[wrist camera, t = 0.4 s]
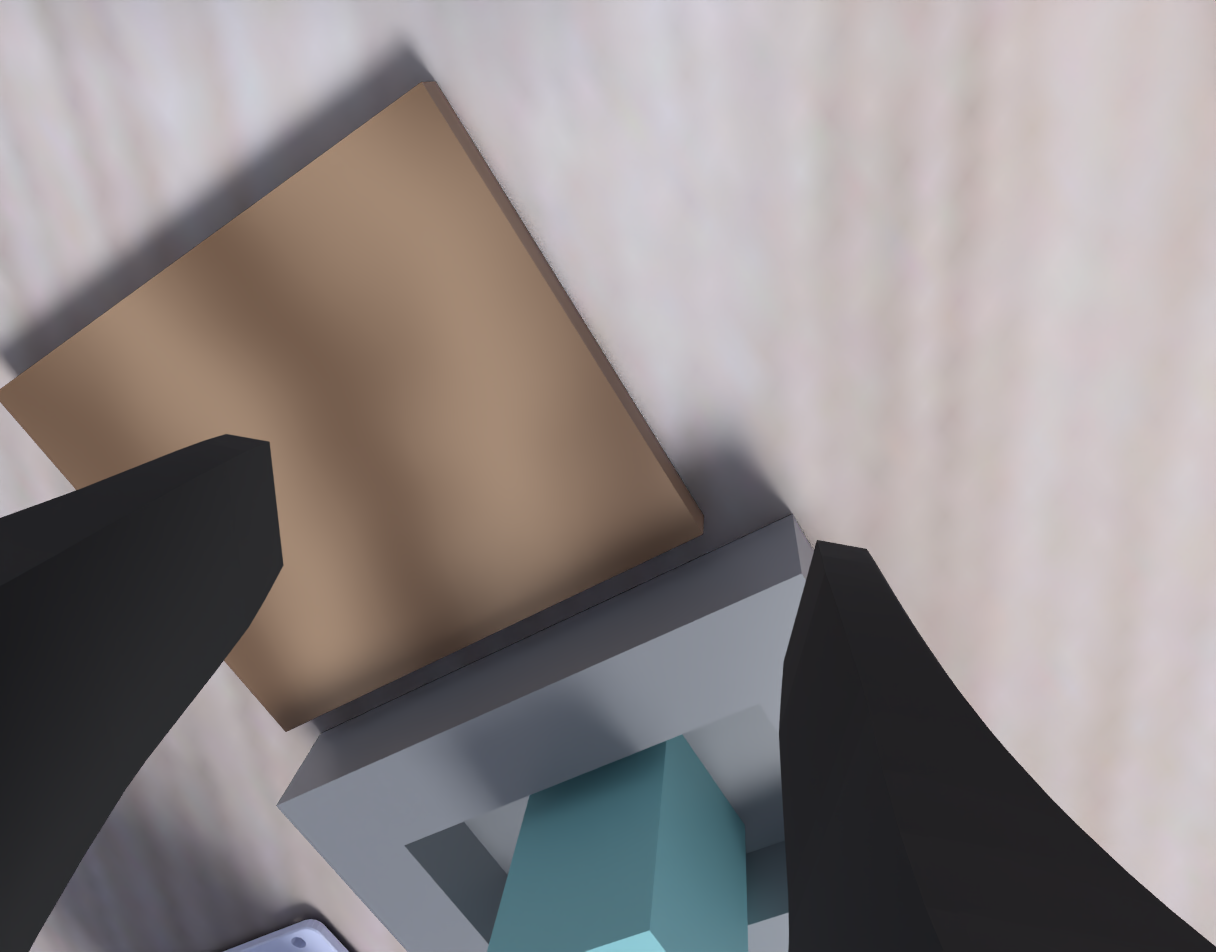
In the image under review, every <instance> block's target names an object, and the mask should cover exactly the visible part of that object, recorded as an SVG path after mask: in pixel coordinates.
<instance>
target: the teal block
mask: <svg viewBox="0 0 1216 952" xmlns="http://www.w3.org/2000/svg"><path fill="white" fill-rule="evenodd" d="M487 952H748V922H747V883H746V845H745V825H744V823H743V822H742V820H741V819H740V818H739V816H738V815H737V813H736V812H735V810H734V809H733V807H732V806H731V804H730V803H729V802H728V800H727V799H726V797H725V796H724V794H723V793H722V791H721V790H720V788H719V787H718V786H717V784H716V783H715V781H714V780H713V778H712V777H711V775H710V774H709V772H708V771H707V770H706V768H705V767H704V765H703V764H702V762H701V761H700V759H699V758H698V756H697V755H696V754H695V752H694V751H693V749H692V748H691V746H690V745H689V743H688V742H687V740H686V739H685V738H684V736H683V735H679V736H677V737H674V738H672V739H669V740H667V741H664V742H662V743H659V744H657V745H654V746H652V747H649V748H647V749H644V750H642V751H639V752H637V753H634V754H632V755H629V756H627V757H624V758H622V759H619V760H617V761H614V762H612V763H609V764H607V765H604V766H602V767H599V768H597V769H594V770H592V771H589V772H587V773H584V774H582V775H579V776H577V777H574V778H572V779H569V780H567V781H564V782H562V783H559V784H557V785H554V786H552V787H549V788H547V789H544V790H542V791H539V792H537V793H534V794H532V795H529V799H528V803H527V806H526V810H525V814H524V817H523V821H522V825H521V828H520V832H519V836H518V839H517V843H516V847H515V850H514V854H513V858H512V861H511V865H510V869H509V872H508V876H507V880H506V883H505V887H504V891H503V895H502V898H501V902H500V906H499V909H498V913H497V917H496V920H495V924H494V928H493V931H492V935H491V939H490V942H489V946H488V950H487Z"/></svg>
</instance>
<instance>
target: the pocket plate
mask: <svg viewBox="0 0 1216 952" xmlns="http://www.w3.org/2000/svg"><path fill="white" fill-rule="evenodd" d="M813 553H814V550H813V548H812V547H811V545H810V543H809V541H808V540H807V538H806V536H805V535H804V533H803V531H802V529H801V528H800V526H799V524H798V523H797V521H796V519H795V517H794V516H793V514H792V515H789V516H787V517H785V518H783V519H781V520H779V521H776V522H774V523H772V524H770V525H768V526H766V527H764V528H761V529H759V530H757V531H755V532H753V533H751V534H749V535H746V536H744V537H742V538H740V539H738V540H736V541H734V542H731V543H729V544H727V545H725V546H723V547H721V548H719V549H716V550H714V551H712V552H710V553H708V554H706V555H703V556H701V557H699V558H697V559H695V560H693V561H691V562H688V563H686V564H684V565H682V566H680V567H678V568H676V569H673V570H671V571H669V572H667V573H665V574H663V575H661V576H658V577H656V578H654V579H652V580H650V581H648V582H646V583H643V584H641V585H639V586H637V587H635V588H633V589H630V590H628V591H626V592H624V593H622V594H620V595H618V596H615V597H613V598H611V599H609V600H607V601H605V602H603V603H600V604H598V605H596V606H594V607H592V608H590V609H588V610H585V611H583V612H581V613H579V614H577V615H575V616H573V617H570V618H568V619H566V620H564V621H562V622H560V623H557V624H555V625H553V626H551V627H549V628H547V629H545V630H542V631H540V632H538V633H536V634H534V635H532V636H530V637H527V638H525V639H523V640H521V641H519V642H517V643H515V644H512V645H510V646H508V647H506V648H504V649H502V650H500V651H497V652H495V653H493V654H491V655H489V656H487V657H484V658H482V659H480V660H478V661H476V662H474V663H472V664H469V665H467V666H465V667H463V668H461V669H459V670H457V671H454V672H452V673H450V674H448V675H446V676H444V677H442V678H439V679H437V680H435V681H433V682H431V683H429V684H427V685H424V686H422V687H420V688H418V689H416V690H414V691H411V692H409V693H407V694H405V695H403V696H401V697H399V698H396V699H394V700H392V701H390V702H388V703H386V704H384V705H381V706H379V707H377V708H375V709H373V710H371V711H369V712H366V713H364V714H362V715H360V716H358V717H356V718H354V719H351V720H349V721H347V722H345V723H343V724H341V725H338V726H336V727H334V728H332V729H330V730H328V731H326V732H323V733H321V734H320V735H319V737H318V739H317V740H316V742H315V744H314V745H313V747H312V748H311V750H310V752H309V753H308V755H307V757H306V758H305V760H304V761H303V763H302V765H301V766H300V768H299V770H298V771H297V773H296V774H295V776H294V778H293V779H292V781H291V783H290V784H289V786H288V787H287V789H286V791H285V792H284V794H283V796H282V797H281V799H280V800H279V802H278V804H277V805H276V806H277V807H278V808H279V809H280V810H281V812H282V813H283V814H284V815H285V816H286V817H287V818H288V819H289V820H290V822H291V823H292V824H293V825H294V826H295V827H296V828H297V829H298V830H299V832H300V833H301V834H302V835H303V836H304V837H305V838H306V839H307V840H308V842H309V843H310V844H311V845H312V846H313V847H314V848H315V849H316V850H317V852H318V853H319V854H320V855H321V856H322V857H323V858H324V859H325V860H326V862H327V863H328V864H329V865H330V866H331V867H332V868H333V869H334V870H335V872H336V873H337V874H338V875H339V876H340V877H341V878H342V879H343V880H344V882H345V883H346V884H347V885H348V886H349V887H350V888H351V889H352V890H353V892H354V893H355V894H356V895H357V896H358V897H359V898H360V899H361V900H362V902H363V903H364V904H365V905H366V906H367V907H368V908H369V909H370V911H371V912H372V913H373V914H374V915H375V916H376V917H377V918H378V919H379V921H380V922H381V923H382V924H383V925H384V926H385V927H386V928H387V929H388V931H389V932H390V933H391V934H392V935H393V936H394V937H395V938H396V939H397V941H398V942H399V943H400V944H401V945H402V946H403V947H404V948H405V949H406V951H407V952H487V950H488V946H489V942H490V939H491V935H492V931H493V928H494V924H495V920H496V917H497V913H498V909H499V906H500V902H501V898H502V895H503V891H504V887H505V883H506V880H507V876H508V872H509V869H510V865H511V861H512V858H513V854H514V850H515V847H516V843H517V839H518V836H519V832H520V828H521V825H522V821H523V817H524V814H525V810H526V806H527V803H528V799H529V795H532V794H534V793H537V792H539V791H542V790H544V789H547V788H549V787H552V786H554V785H557V784H559V783H562V782H564V781H567V780H569V779H572V778H574V777H577V776H579V775H582V774H584V773H587V772H589V771H592V770H594V769H597V768H599V767H602V766H604V765H607V764H609V763H612V762H614V761H617V760H619V759H622V758H624V757H627V756H629V755H632V754H634V753H637V752H639V751H642V750H644V749H647V748H649V747H652V746H654V745H657V744H659V743H662V742H664V741H667V740H669V739H672V738H674V737H677V736H679V735H683V736H684V738H685V739H686V740H687V742H688V743H689V745H690V746H691V748H692V749H693V751H694V752H695V754H696V755H697V756H698V758H699V759H700V761H701V762H702V764H703V765H704V767H705V768H706V770H707V771H708V772H709V774H710V775H711V777H712V778H713V780H714V781H715V783H716V784H717V786H718V787H719V788H720V790H721V791H722V793H723V794H724V796H725V797H726V799H727V800H728V802H729V803H730V804H731V806H732V807H733V809H734V810H735V812H736V813H737V815H738V816H739V818H740V819H741V820H742V822H743V823H744V825H745V845H746V883H747V922H748V952H788V947H789V911H788V885H787V868H786V852H785V835H784V818H783V802H782V785H781V767H780V748H779V720H780V703H781V689H782V675H783V662H784V658H785V655H786V651H787V647H788V644H789V640H790V636H791V633H792V629H793V626H794V622H795V618H796V615H797V611H798V607H799V604H800V600H801V596H802V593H803V589H804V586H805V582H806V578H807V575H808V571H809V567H810V564H811V560H812V556H813Z"/></svg>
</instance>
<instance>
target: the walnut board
mask: <svg viewBox="0 0 1216 952" xmlns="http://www.w3.org/2000/svg"><path fill="white" fill-rule="evenodd" d="M0 402H1V403H2V405H3V406H4V407H5V408H6V409H7V410H8V412H9V413H10V414H11V415H12V416H13V417H14V418H15V420H16V421H17V422H18V423H19V424H20V425H21V427H22V428H23V429H24V430H25V431H26V432H27V433H28V435H29V436H30V437H31V438H32V439H33V440H34V442H35V443H36V444H37V445H38V446H39V447H40V449H41V450H42V451H43V452H44V453H45V454H46V455H47V457H48V458H49V459H50V460H51V461H52V462H53V464H54V465H55V466H56V467H57V468H58V469H59V470H60V472H61V473H62V474H63V475H64V476H65V477H66V479H67V480H68V481H69V482H70V483H71V484H72V485H73V487H74V488H75V489H76V490H79V489H81V488H84V487H86V486H89V485H91V484H94V483H96V482H99V481H101V480H104V479H106V478H109V477H111V476H114V475H116V474H119V473H121V472H124V471H126V470H129V469H131V468H134V467H137V466H139V465H142V464H144V463H147V462H149V461H152V460H154V459H157V458H159V457H162V456H164V455H167V454H169V453H172V452H174V451H177V450H180V449H182V448H185V447H188V446H190V445H193V444H196V443H199V442H202V441H204V440H207V439H211V438H214V437H217V436H221V435H224V434H230V435H236V436H241V437H247V438H252V439H258V440H263V441H269V442H270V449H271V458H272V467H273V476H274V485H275V494H276V503H277V511H278V520H279V529H280V538H281V547H282V556H283V565H284V566H283V567H282V569H281V571H280V573H279V575H278V577H277V579H276V580H275V582H274V584H273V586H272V588H271V590H270V592H269V593H268V595H267V597H266V599H265V601H264V602H263V604H262V606H261V608H260V609H259V611H258V613H257V614H256V616H255V618H254V619H253V621H252V623H251V624H250V626H249V628H248V629H247V630H246V632H245V633H244V634H243V636H242V637H241V638H240V640H239V641H238V642H237V644H236V645H235V646H234V648H233V649H232V650H231V652H230V653H229V654H228V656H227V657H226V658H225V659H224V661H225V662H226V663H227V665H228V666H229V667H230V668H231V669H232V670H233V672H234V673H235V674H236V675H237V676H238V677H239V678H240V680H241V681H242V682H243V683H244V684H245V685H246V687H247V688H248V689H249V690H250V691H251V692H252V694H253V695H254V696H255V697H256V698H257V699H258V700H259V702H260V703H261V704H262V705H263V706H264V707H265V709H266V710H267V711H268V712H269V713H270V714H271V715H272V717H273V718H274V719H275V720H276V721H277V722H278V724H279V725H280V726H281V727H282V728H283V729H284V730H285V732H287V731H289V730H291V729H293V728H295V727H297V726H300V725H302V724H304V723H306V722H308V721H310V720H312V719H314V718H316V717H319V716H321V715H323V714H325V713H327V712H329V711H331V710H333V709H335V708H338V707H340V706H342V705H344V704H346V703H348V702H350V701H352V700H354V699H357V698H359V697H361V696H363V695H365V694H367V693H369V692H371V691H373V690H375V689H378V688H380V687H382V686H384V685H386V684H388V683H390V682H392V681H394V680H397V679H399V678H401V677H403V676H405V675H407V674H409V673H411V672H413V671H416V670H418V669H420V668H422V667H424V666H426V665H428V664H430V663H432V662H435V661H437V660H439V659H441V658H443V657H445V656H447V655H449V654H451V653H454V652H456V651H458V650H460V649H462V648H464V647H466V646H468V645H470V644H473V643H475V642H477V641H479V640H481V639H483V638H485V637H487V636H489V635H492V634H494V633H496V632H498V631H500V630H502V629H504V628H506V627H508V626H510V625H513V624H515V623H517V622H519V621H521V620H523V619H525V618H527V617H529V616H532V615H534V614H536V613H538V612H540V611H542V610H544V609H546V608H548V607H551V606H553V605H555V604H557V603H559V602H561V601H563V600H565V599H567V598H570V597H572V596H574V595H576V594H578V593H580V592H582V591H584V590H586V589H589V588H591V587H593V586H595V585H597V584H599V583H601V582H603V581H605V580H608V579H610V578H612V577H614V576H616V575H618V574H620V573H622V572H624V571H626V570H629V569H631V568H633V567H635V566H637V565H639V564H641V563H643V562H645V561H648V560H650V559H652V558H654V557H656V556H658V555H660V554H662V553H664V552H667V551H669V550H671V549H673V548H675V547H677V546H679V545H681V544H683V543H686V542H688V541H690V540H692V539H694V538H696V537H698V536H700V535H702V534H703V526H704V515H703V514H702V512H701V511H700V509H699V507H698V506H697V504H696V502H695V501H694V499H693V498H692V496H691V494H690V493H689V491H688V489H687V488H686V486H685V485H684V483H683V481H682V480H681V478H680V477H679V475H678V473H677V472H676V470H675V468H674V467H673V465H672V464H671V462H670V460H669V459H668V457H667V455H666V454H665V452H664V451H663V449H662V447H661V446H660V444H659V442H658V441H657V439H656V438H655V436H654V434H653V433H652V431H651V430H650V428H649V426H648V425H647V423H646V421H645V420H644V418H643V417H642V415H641V413H640V412H639V410H638V408H637V407H636V405H635V404H634V402H633V400H632V399H631V397H630V396H629V394H628V392H627V391H626V389H625V387H624V386H623V384H622V383H621V381H620V379H619V378H618V376H617V374H616V373H615V371H614V370H613V368H612V366H611V365H610V363H609V362H608V360H607V358H606V357H605V355H604V353H603V352H602V350H601V349H600V347H599V345H598V344H597V342H596V340H595V339H594V337H593V336H592V334H591V332H590V331H589V329H588V328H587V326H586V324H585V323H584V321H583V319H582V318H581V316H580V315H579V313H578V311H577V310H576V308H575V306H574V305H573V303H572V302H571V300H570V298H569V297H568V295H567V294H566V292H565V290H564V289H563V287H562V285H561V284H560V282H559V281H558V279H557V277H556V276H555V274H554V272H553V271H552V269H551V268H550V266H549V264H548V263H547V261H546V259H545V258H544V256H543V255H542V253H541V251H540V250H539V248H538V247H537V245H536V243H535V242H534V240H533V238H532V237H531V235H530V234H529V232H528V230H527V229H526V227H525V225H524V224H523V222H522V221H521V219H520V217H519V216H518V214H517V213H516V211H515V209H514V208H513V206H512V204H511V203H510V201H509V200H508V198H507V196H506V195H505V193H504V191H503V190H502V188H501V187H500V185H499V183H498V182H497V180H496V179H495V177H494V175H493V174H492V172H491V170H490V169H489V167H488V166H487V164H486V162H485V161H484V159H483V157H482V156H481V154H480V153H479V151H478V149H477V148H476V146H475V145H474V143H473V141H472V140H471V138H470V136H469V135H468V133H467V132H466V130H465V128H464V127H463V125H462V123H461V122H460V120H459V119H458V117H457V115H456V114H455V112H454V111H453V109H452V107H451V106H450V104H449V102H448V101H447V99H446V98H445V96H444V94H443V93H442V91H441V89H440V88H439V86H438V85H437V83H436V82H421V83H419V84H418V85H417V86H415V87H414V88H412V89H411V90H410V91H408V92H407V93H406V94H404V95H403V96H401V97H400V98H399V99H397V100H396V101H395V102H393V103H392V104H390V105H389V106H388V107H386V108H385V109H384V110H382V111H381V112H380V113H378V114H377V115H375V116H374V117H373V118H371V119H370V120H369V121H367V122H366V123H364V124H363V125H362V126H360V127H359V128H358V129H356V130H355V131H353V132H352V133H351V134H349V135H348V136H347V137H345V138H344V139H342V140H341V141H340V142H338V143H337V144H336V145H334V146H333V147H332V148H330V149H329V150H327V151H326V152H325V153H323V154H322V155H321V156H319V157H318V158H316V159H315V160H314V161H312V162H311V163H310V164H308V165H307V166H305V167H304V168H303V169H301V170H300V171H299V172H297V173H296V174H294V175H293V176H292V177H290V178H289V179H288V180H286V181H285V182H284V183H282V184H281V185H279V186H278V187H277V188H275V189H274V190H273V191H271V192H270V193H268V194H267V195H266V196H264V197H263V198H262V199H260V200H259V201H257V202H256V203H255V204H253V205H252V206H251V207H249V208H248V209H246V210H245V211H244V212H242V213H241V214H240V215H238V216H237V217H236V218H234V219H233V220H231V221H230V222H229V223H227V224H226V225H225V226H223V227H222V228H220V229H219V230H218V231H216V232H215V233H214V234H212V235H211V236H209V237H208V238H207V239H205V240H204V241H203V242H201V243H200V244H198V245H197V246H196V247H194V248H193V249H192V250H190V251H189V252H188V253H186V254H185V255H183V256H182V257H181V258H179V259H178V260H177V261H175V262H174V263H172V264H171V265H170V266H168V267H167V268H166V269H164V270H163V271H161V272H160V273H159V274H157V275H156V276H155V277H153V278H152V279H150V280H149V281H148V282H146V283H145V284H144V285H142V286H141V287H140V288H138V289H137V290H135V291H134V292H133V293H131V294H130V295H129V296H127V297H126V298H124V299H123V300H122V301H120V302H119V303H118V304H116V305H115V306H113V307H112V308H111V309H109V310H108V311H107V312H105V313H104V314H102V315H101V316H100V317H98V318H97V319H96V320H94V321H93V322H92V323H90V324H89V325H87V326H86V327H85V328H83V329H82V330H81V331H79V332H78V333H76V334H75V335H74V336H72V337H71V338H70V339H68V340H67V341H65V342H64V343H63V344H61V345H60V346H59V347H57V348H56V349H54V350H53V351H52V352H50V353H49V354H48V355H46V356H45V357H44V358H42V359H41V360H39V361H38V362H37V363H35V364H34V365H33V366H31V367H30V368H28V369H27V370H26V371H24V372H23V373H22V374H20V375H19V376H17V377H16V378H15V379H13V380H12V381H11V382H9V383H8V384H6V385H5V386H4V387H2V388H1V389H0Z"/></svg>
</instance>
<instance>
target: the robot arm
mask: <svg viewBox="0 0 1216 952" xmlns="http://www.w3.org/2000/svg"><path fill="white" fill-rule="evenodd" d="M283 566H284V565H283V556H282V547H281V538H280V529H279V520H278V511H277V503H276V494H275V485H274V476H273V467H272V458H271V449H270V442H269V441H263V440H258V439H252V438H247V437H241V436H236V435H230V434H224V435H221V436H217V437H214V438H211V439H207V440H204V441H202V442H199V443H196V444H193V445H190V446H188V447H185V448H182V449H180V450H177V451H174V452H172V453H169V454H167V455H164V456H162V457H159V458H157V459H154V460H152V461H149V462H147V463H144V464H142V465H139V466H137V467H134V468H131V469H129V470H126V471H124V472H121V473H119V474H116V475H114V476H111V477H109V478H106V479H104V480H101V481H99V482H96V483H94V484H91V485H89V486H86V487H84V488H81V489H79V490H76V491H73V492H71V493H68V494H66V495H63V496H60V497H57V498H54V499H52V500H49V501H46V502H43V503H41V504H38V505H35V506H32V507H29V508H27V509H24V510H21V511H18V512H16V513H13V514H10V515H7V516H5V517H2V518H0V952H29V950H30V949H31V947H32V945H33V943H34V941H35V939H36V937H37V936H38V934H39V932H40V930H41V929H42V927H43V925H44V923H45V922H46V920H47V918H48V917H49V915H50V913H51V911H52V910H53V908H54V906H55V905H56V903H57V901H58V899H59V898H60V896H61V894H62V893H63V891H64V889H65V887H66V886H67V884H68V882H69V881H70V879H71V877H72V875H73V874H74V872H75V870H76V869H77V867H78V865H79V863H80V862H81V860H82V858H83V857H84V855H85V853H86V852H87V850H88V849H89V847H90V845H91V844H92V842H93V841H94V839H95V837H96V836H97V834H98V833H99V831H100V829H101V828H102V826H103V825H104V823H105V821H106V820H107V818H108V817H109V815H110V813H111V812H112V810H113V809H114V807H115V805H116V804H117V802H118V800H119V799H120V797H121V796H122V794H123V792H124V791H125V789H126V788H127V787H128V785H129V784H130V782H131V781H132V780H133V778H134V777H135V775H136V774H137V773H138V771H139V770H140V768H141V767H142V766H143V764H144V763H145V761H146V760H147V759H148V757H149V756H150V755H151V753H152V752H153V751H154V750H155V748H156V747H157V746H158V744H159V743H160V742H161V741H162V739H163V738H164V737H165V735H166V734H167V733H168V732H169V730H170V729H171V728H172V726H173V725H174V724H175V723H176V721H177V720H178V719H179V717H180V716H181V715H182V714H183V712H184V711H185V710H186V708H187V707H188V706H189V705H190V703H191V702H192V701H193V700H194V698H195V697H196V696H197V694H198V693H199V692H200V691H201V689H202V688H203V687H204V685H205V684H206V683H207V682H208V680H209V679H210V678H211V676H212V675H213V674H214V673H215V671H216V670H217V669H218V667H219V666H220V665H221V663H222V662H223V661H224V659H225V658H226V657H227V656H228V654H229V653H230V652H231V650H232V649H233V648H234V646H235V645H236V644H237V642H238V641H239V640H240V638H241V637H242V636H243V634H244V633H245V632H246V630H247V629H248V628H249V626H250V624H251V623H252V621H253V619H254V618H255V616H256V614H257V613H258V611H259V609H260V608H261V606H262V604H263V602H264V601H265V599H266V597H267V595H268V593H269V592H270V590H271V588H272V586H273V584H274V582H275V580H276V579H277V577H278V575H279V573H280V571H281V569H282V567H283ZM779 748H780V767H781V785H782V802H783V818H784V835H785V852H786V868H787V885H788V911H789V947H788V952H1216V947H1215V946H1214V945H1213V944H1212V943H1210V942H1209V941H1208V940H1207V939H1206V938H1204V937H1203V936H1202V935H1201V934H1200V933H1198V932H1197V931H1196V930H1195V929H1193V928H1192V927H1191V926H1190V925H1189V924H1187V923H1186V922H1185V921H1184V920H1182V919H1181V918H1180V917H1179V916H1178V915H1176V914H1175V913H1174V912H1173V911H1171V910H1170V909H1169V908H1168V907H1167V906H1166V905H1165V904H1163V903H1162V902H1161V901H1160V900H1159V899H1158V898H1156V897H1155V896H1154V895H1153V894H1152V893H1151V892H1150V891H1148V890H1147V889H1146V888H1145V887H1144V886H1143V885H1142V884H1140V883H1139V882H1138V881H1137V880H1136V879H1135V878H1134V877H1132V876H1131V875H1130V874H1129V873H1128V872H1127V871H1126V870H1125V869H1124V868H1123V867H1122V866H1120V865H1119V864H1118V863H1117V862H1116V861H1115V860H1114V859H1113V858H1112V857H1111V856H1110V855H1109V854H1108V853H1107V852H1106V851H1105V850H1103V849H1102V848H1101V847H1100V846H1099V845H1098V844H1097V843H1096V842H1095V841H1094V840H1093V839H1092V838H1091V837H1090V836H1089V835H1088V834H1086V833H1085V832H1084V831H1083V830H1082V829H1081V828H1080V827H1079V826H1078V825H1077V824H1076V823H1075V822H1074V821H1073V820H1072V819H1071V818H1070V817H1069V816H1068V815H1067V814H1066V813H1065V812H1064V811H1063V810H1062V809H1061V808H1060V807H1059V806H1058V805H1057V804H1056V803H1055V802H1054V801H1053V800H1052V799H1051V798H1050V797H1049V796H1048V795H1047V794H1046V792H1045V791H1044V790H1043V789H1042V788H1041V787H1040V786H1039V785H1038V784H1037V783H1036V782H1035V780H1034V779H1033V778H1032V777H1031V776H1030V775H1029V774H1028V773H1027V772H1026V771H1025V769H1024V768H1023V767H1022V766H1021V765H1020V764H1019V763H1018V762H1017V761H1016V760H1015V759H1014V757H1013V756H1012V755H1011V754H1010V753H1009V752H1008V751H1007V750H1006V749H1005V747H1004V746H1003V745H1002V744H1001V743H1000V741H999V740H998V739H997V738H996V737H995V736H994V734H993V733H992V732H991V731H990V730H989V728H988V727H987V726H986V725H985V723H984V722H983V721H982V720H981V718H980V717H979V716H978V714H977V713H976V712H975V711H974V709H973V708H972V707H971V705H970V704H969V703H968V702H967V700H966V699H965V698H964V697H963V695H962V694H961V693H960V691H959V690H958V689H957V687H956V686H955V685H954V683H953V682H952V680H951V679H950V678H949V676H948V675H947V673H946V672H945V671H944V669H943V668H942V666H941V665H940V663H939V662H938V660H937V659H936V657H935V656H934V654H933V653H932V652H931V650H930V649H929V647H928V646H927V644H926V643H925V641H924V640H923V638H922V637H921V635H920V634H919V632H918V631H917V629H916V628H915V626H914V625H913V623H912V621H911V620H910V618H909V617H908V615H907V613H906V612H905V610H904V609H903V607H902V605H901V604H900V602H899V601H898V599H897V597H896V596H895V594H894V592H893V591H892V589H891V588H890V586H889V584H888V583H887V581H886V579H885V578H884V576H883V574H882V573H881V571H880V569H879V568H878V566H877V564H876V563H875V561H874V560H873V558H872V556H871V555H870V553H869V552H868V550H867V549H864V548H858V547H853V546H847V545H842V544H836V543H830V542H825V541H819V540H817V542H816V546H815V549H814V553H813V556H812V560H811V564H810V567H809V571H808V575H807V578H806V582H805V586H804V589H803V593H802V596H801V600H800V604H799V607H798V611H797V615H796V618H795V622H794V626H793V629H792V633H791V636H790V640H789V644H788V647H787V651H786V655H785V658H784V662H783V675H782V689H781V703H780V720H779ZM223 952H349V951H348V950H347V949H346V948H345V947H344V946H343V945H342V944H341V943H340V941H339V940H338V939H337V938H336V937H335V936H334V935H333V934H332V933H331V932H330V931H329V930H328V929H327V927H326V926H325V925H324V924H322V923H321V922H320V921H317V920H314V919H308V920H304V921H301V922H299V923H296V924H293V925H291V926H288V927H286V928H283V929H280V930H278V931H275V932H273V933H270V934H267V935H265V936H262V937H259V938H257V939H254V940H252V941H249V942H246V943H244V944H241V945H239V946H236V947H233V948H231V949H228V950H226V951H223Z"/></svg>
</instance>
